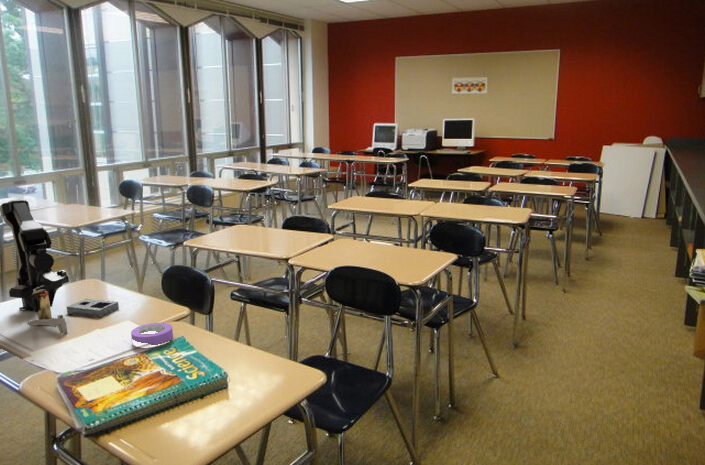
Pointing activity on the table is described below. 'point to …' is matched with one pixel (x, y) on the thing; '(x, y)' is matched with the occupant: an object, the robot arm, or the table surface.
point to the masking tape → (153, 339)
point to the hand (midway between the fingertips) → (43, 309)
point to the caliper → (53, 323)
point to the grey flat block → (92, 307)
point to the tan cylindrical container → (43, 305)
